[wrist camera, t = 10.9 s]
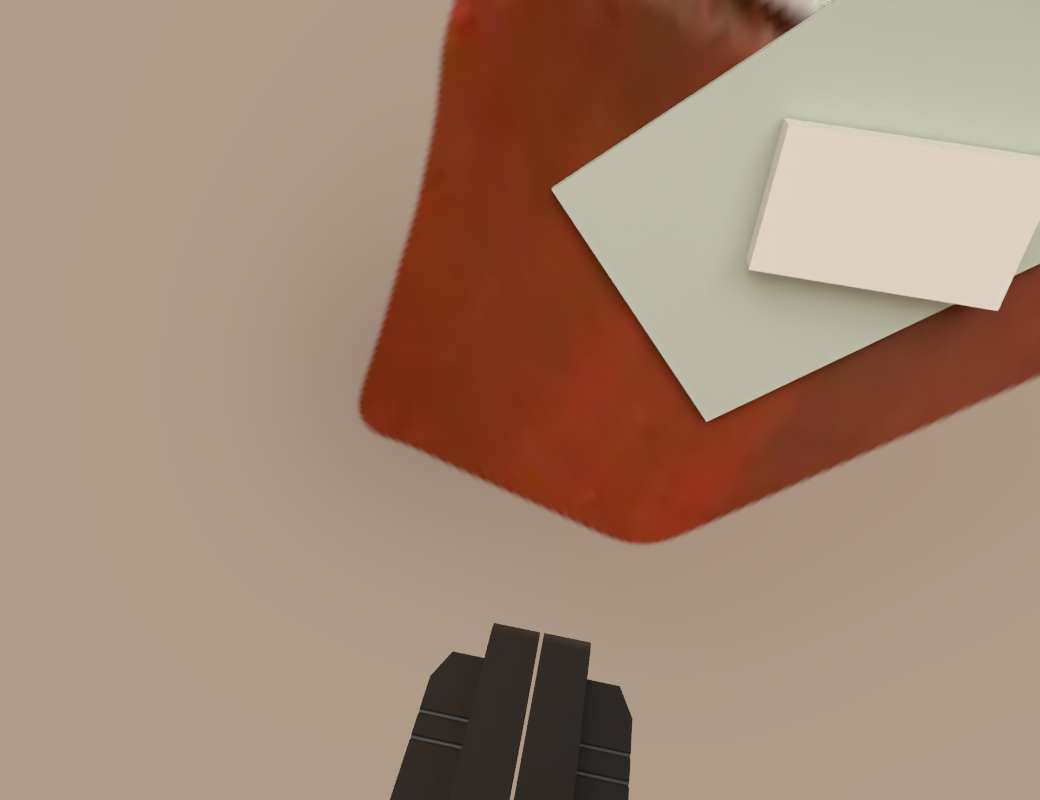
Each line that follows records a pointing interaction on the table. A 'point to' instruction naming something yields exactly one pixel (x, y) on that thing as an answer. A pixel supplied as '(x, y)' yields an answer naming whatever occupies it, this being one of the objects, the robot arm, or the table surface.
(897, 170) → the tile
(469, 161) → the table surface
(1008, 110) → the mat
